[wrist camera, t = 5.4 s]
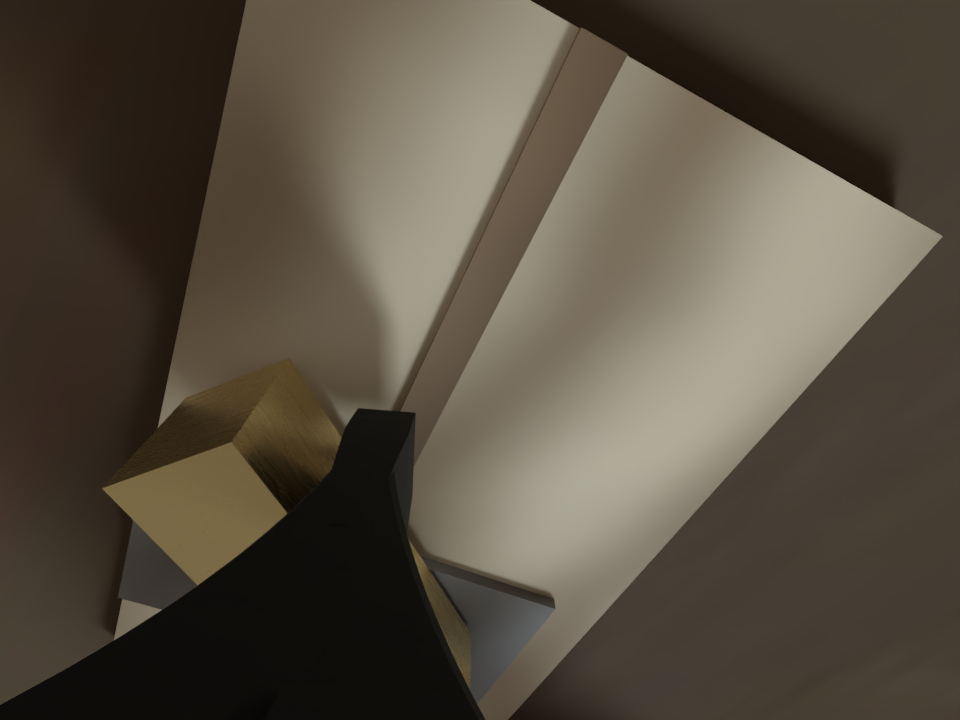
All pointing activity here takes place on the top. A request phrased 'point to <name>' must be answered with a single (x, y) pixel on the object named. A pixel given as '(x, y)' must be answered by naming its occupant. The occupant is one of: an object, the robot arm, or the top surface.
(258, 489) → the swing bar
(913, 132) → the top surface
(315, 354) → the door board
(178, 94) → the top surface
